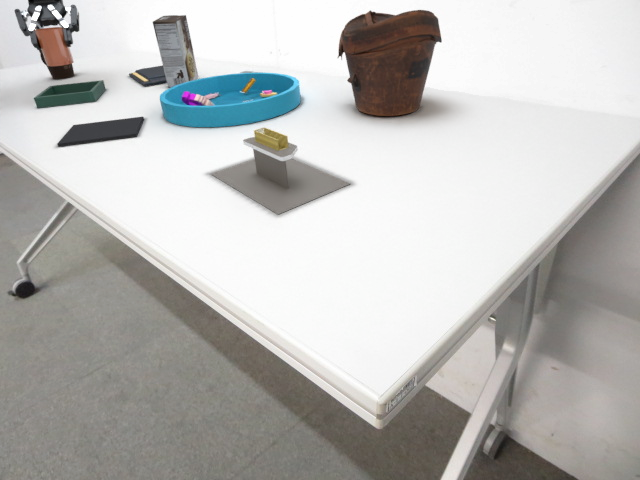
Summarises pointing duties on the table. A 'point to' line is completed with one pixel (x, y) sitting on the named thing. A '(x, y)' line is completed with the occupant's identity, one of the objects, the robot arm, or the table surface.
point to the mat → (102, 131)
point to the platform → (277, 174)
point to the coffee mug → (59, 69)
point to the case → (389, 59)
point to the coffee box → (175, 49)
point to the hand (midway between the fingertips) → (53, 46)
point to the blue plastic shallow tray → (230, 99)
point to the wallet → (150, 76)
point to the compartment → (70, 94)
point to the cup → (54, 46)
